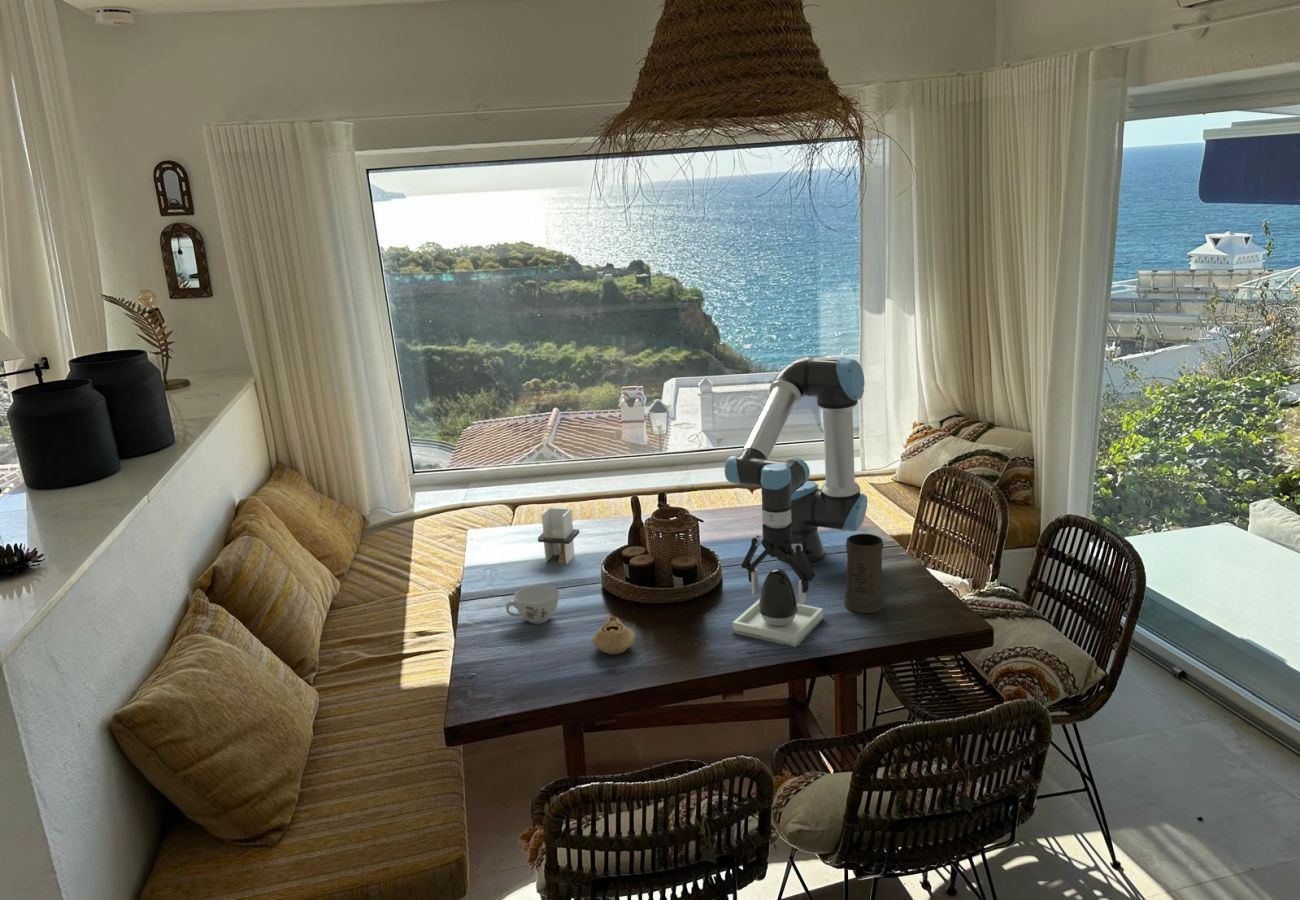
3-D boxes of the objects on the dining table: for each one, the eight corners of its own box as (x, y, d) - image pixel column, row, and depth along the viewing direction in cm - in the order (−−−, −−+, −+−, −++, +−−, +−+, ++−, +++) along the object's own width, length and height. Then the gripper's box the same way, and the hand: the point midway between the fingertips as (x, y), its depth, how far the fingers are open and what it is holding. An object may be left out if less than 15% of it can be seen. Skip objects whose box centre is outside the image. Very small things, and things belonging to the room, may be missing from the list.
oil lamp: (627, 631, 254) (626, 604, 252) (641, 657, 240) (639, 628, 238) (587, 638, 251) (585, 610, 249) (598, 664, 237) (596, 635, 235)
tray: (762, 605, 264) (762, 596, 264) (822, 618, 255) (822, 608, 254) (732, 632, 250) (732, 622, 249) (795, 647, 240) (795, 636, 240)
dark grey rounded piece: (768, 634, 246) (767, 580, 242) (753, 617, 256) (752, 565, 251) (804, 627, 249) (803, 574, 244) (788, 610, 258) (787, 559, 254)
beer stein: (884, 615, 255) (885, 544, 250) (844, 613, 257) (844, 543, 253) (882, 595, 269) (883, 528, 265) (844, 593, 272) (844, 527, 267)
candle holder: (509, 572, 298) (504, 523, 293) (538, 543, 320) (534, 497, 316) (583, 577, 291) (580, 527, 286) (608, 547, 313) (605, 500, 309)
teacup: (555, 606, 271) (553, 580, 269) (565, 624, 260) (563, 598, 257) (503, 616, 267) (501, 590, 265) (511, 634, 255) (508, 607, 253)
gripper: (727, 521, 248) (730, 594, 254) (816, 535, 235) (816, 612, 241) (740, 511, 254) (742, 583, 260) (827, 525, 241) (828, 601, 247)
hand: (778, 598), depth 250 cm, fingers open, 13 cm apart
